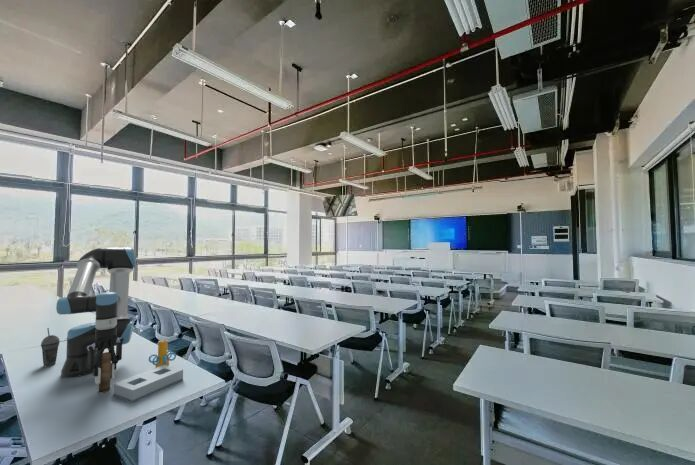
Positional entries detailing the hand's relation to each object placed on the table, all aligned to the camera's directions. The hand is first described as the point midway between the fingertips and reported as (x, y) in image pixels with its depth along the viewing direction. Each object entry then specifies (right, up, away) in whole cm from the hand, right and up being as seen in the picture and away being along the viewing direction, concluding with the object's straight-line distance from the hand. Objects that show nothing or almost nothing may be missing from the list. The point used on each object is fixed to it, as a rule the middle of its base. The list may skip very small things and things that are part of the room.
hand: (104, 380), depth 131 cm
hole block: (+19, -4, +2) cm, 19 cm away
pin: (0, -4, 0) cm, 4 cm away
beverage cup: (-53, -6, +28) cm, 60 cm away
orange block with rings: (+13, -5, +20) cm, 25 cm away
